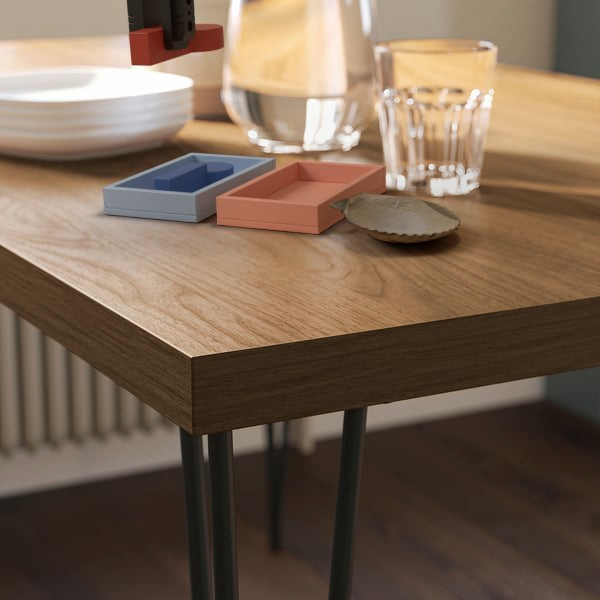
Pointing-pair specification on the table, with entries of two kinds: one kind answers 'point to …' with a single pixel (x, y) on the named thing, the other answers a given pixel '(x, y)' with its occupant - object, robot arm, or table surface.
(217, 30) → the spoon red
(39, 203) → the table surface
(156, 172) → the tray blue
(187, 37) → the robot arm
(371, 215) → the seashell
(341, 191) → the tray red
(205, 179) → the spoon blue
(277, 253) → the table surface
